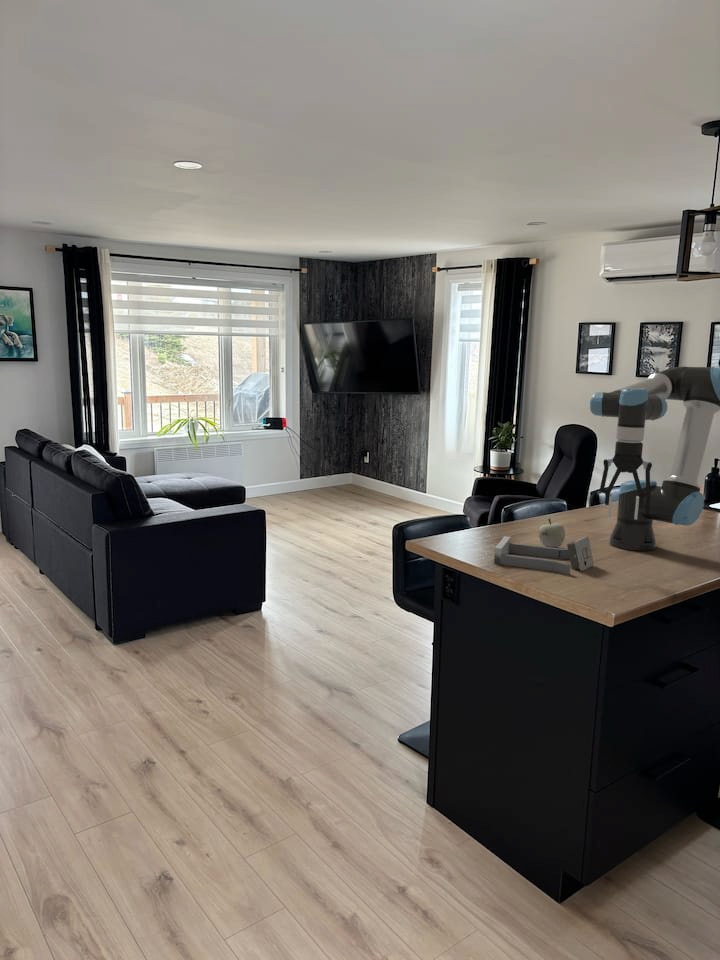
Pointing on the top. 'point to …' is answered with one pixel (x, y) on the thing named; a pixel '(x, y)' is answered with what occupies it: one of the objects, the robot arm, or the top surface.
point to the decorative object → (552, 534)
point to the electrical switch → (580, 554)
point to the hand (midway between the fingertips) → (622, 517)
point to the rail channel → (528, 562)
